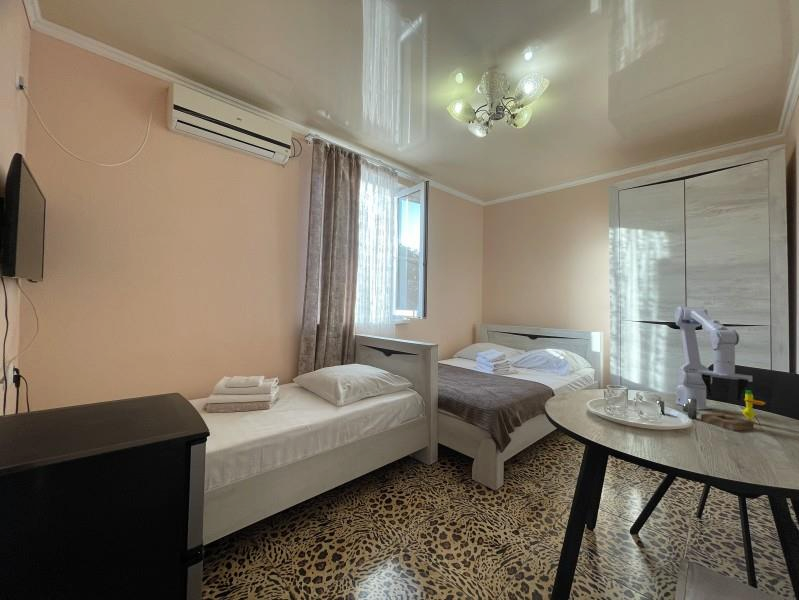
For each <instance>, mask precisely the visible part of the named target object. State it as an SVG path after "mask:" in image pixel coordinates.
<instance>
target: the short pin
mask: <svg viewBox="0 0 799 600" xmlns="http://www.w3.org/2000/svg"><path fill="white" fill-rule="evenodd" d="M682 411H683V412H685V413H688V404H687V403H683V405H682Z"/></svg>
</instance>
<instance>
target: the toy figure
mask: <svg viewBox="0 0 799 600" xmlns="http://www.w3.org/2000/svg"><path fill="white" fill-rule="evenodd" d="M744 394H745V395H744V396H745V397H744V399H743V402H745V407H746V408H744V409H741V408H739V410H740V411H741V412H742V414H743V415H744V416H745V419H747V420H749V421H753V425H755V424H756V423H757V422H756V421H754V420H752V419H754V418H755V417H756V411H754V409H753V407H754V406H753V405H758V406H763V405H766V402H764V401H761V400H756V399H754V395H753V394H754V393H752V390H745V393H744Z"/></svg>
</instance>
